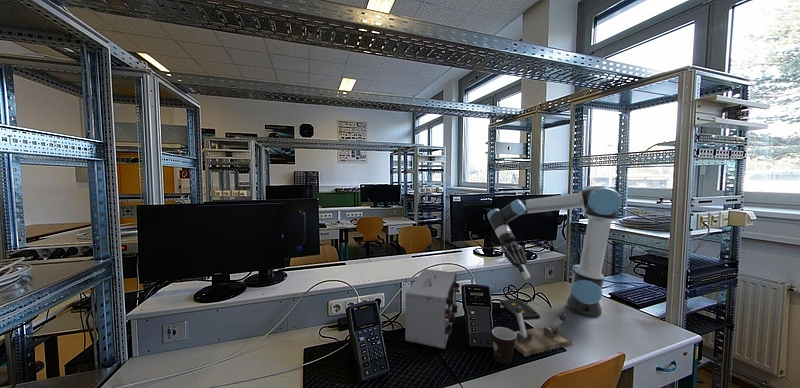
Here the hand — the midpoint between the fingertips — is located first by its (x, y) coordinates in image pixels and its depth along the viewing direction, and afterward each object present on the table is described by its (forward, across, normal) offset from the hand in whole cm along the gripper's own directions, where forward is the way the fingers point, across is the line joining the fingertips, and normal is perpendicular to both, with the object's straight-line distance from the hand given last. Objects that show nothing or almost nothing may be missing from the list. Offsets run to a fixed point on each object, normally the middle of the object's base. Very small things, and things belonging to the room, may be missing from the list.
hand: (528, 278), depth 133 cm
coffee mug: (+27, +27, -3) cm, 39 cm away
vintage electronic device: (+10, +44, -21) cm, 50 cm away
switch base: (+25, +7, -5) cm, 27 cm away
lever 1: (+22, +14, -2) cm, 27 cm away
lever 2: (+23, 0, -2) cm, 23 cm away
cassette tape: (+8, -5, -23) cm, 25 cm away
